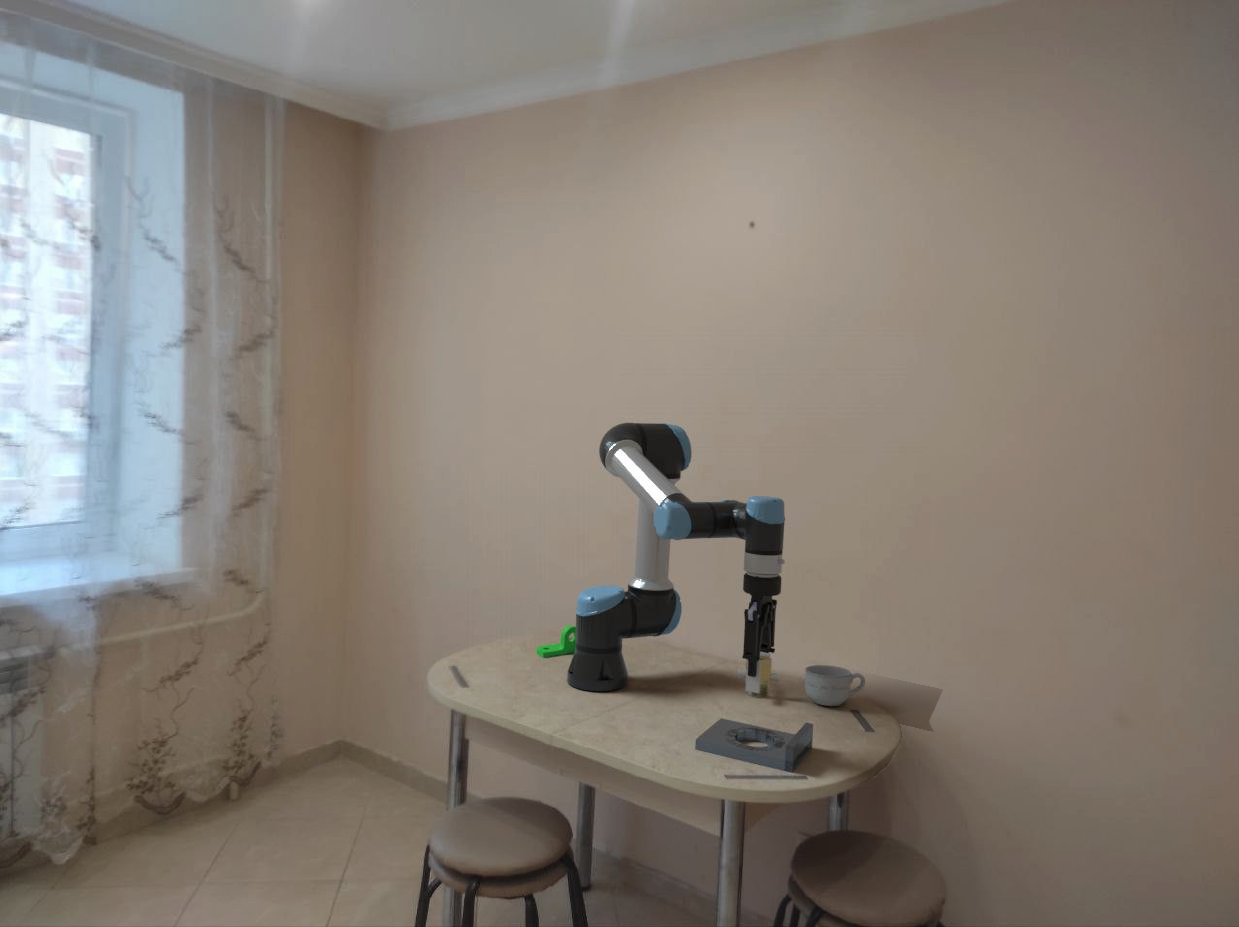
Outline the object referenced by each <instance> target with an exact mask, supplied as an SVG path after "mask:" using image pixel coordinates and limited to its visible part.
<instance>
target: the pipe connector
mask: <svg viewBox="0 0 1239 927" xmlns="http://www.w3.org/2000/svg"><path fill="white" fill-rule="evenodd" d="M736 678H739V679H746V670H742V669H737V670H736ZM779 680H780V674H779V673H773V672H771V682H779ZM752 697H754V698H756V699H757V698H758V699H759V698H760V697H756V696H752Z"/></svg>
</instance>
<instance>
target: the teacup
mask: <svg viewBox="0 0 1239 927" xmlns="http://www.w3.org/2000/svg"><path fill="white" fill-rule="evenodd" d="M804 671H805V678H804V685H805V686H804V688H805V693H806V695H807V697H808V698H809V699H810V700H811V701H812V702H813V703H815V704H817V705H821V706H826V707H827V706H828V707H836V706H840V705H842V704H843V703H845V702H846V701H847V700H848V699H849V698H851V697H852V696H853V695H854V694H855V693H858V692H860V691H861V690H862V689H863V688H864V687H865V685H866V679H865V677H864V675H863V674H861V673H859V672H854V673H852V672H851V671H850V670H849V669H847V668H844V667H841V666H835V665H827V664H826V665H824V664H819V665H818V664H814V665H808V666H806V667H805V668H804ZM855 678H859V679H860V683H859V685H858V686H857V687H855V688H852V689H851V684H852V683H853V681H854V679H855Z"/></svg>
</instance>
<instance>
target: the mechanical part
mask: <svg viewBox="0 0 1239 927" xmlns="http://www.w3.org/2000/svg"><path fill="white" fill-rule="evenodd" d="M571 634H573V637H572V638H571V640H570V636H571ZM575 644H576V625H571V624H570V625H567V626H565V627H564V628H563V630H562V631H561V632H560V643H559V642H558V643H553V644H546V645H540V646H537V647H536V655H537V654H538V655H537V656H539V657H541V658H543V659H544V658H545V657H546V658H551V657H550V656H552V657H557V656H556V655H559V656H563V655H562V654H565V655H567V654H566V653H571V654H574V653H573V652H575Z"/></svg>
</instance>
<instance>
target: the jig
mask: <svg viewBox="0 0 1239 927" xmlns="http://www.w3.org/2000/svg"><path fill="white" fill-rule="evenodd" d="M813 735H814V723H810V722H805V723H804V724H803V725H802V726H801V728H800V729H799V730H798V731H797V732H796V733H795V734H794V733H790V732H786V731H780V730H777V729H772V728H768V727H767V728H766V727H763V726H758V725H753V724H749V723H744V722H742V721H741V722H739V721H735V720H731V719H725V718H722V717H721V718H719V719H718V720H717V721H716V722H715V723H713V724H712V725H711V726H710V727H709V728H707V729H706V730H705V731H704V732H703V733H702V734H700V735H698V737H696V738H695V744H694V745H695V746H694V747H695V748H694V749H695V750H698V751H701V752H706V753H710V754H715V755H720V756H724V757H726V758H731V759H735V760H739V761H743V762H748V763H752V764H757V765H761V766H764V767H769V768H773V769H777V770H781V771H784V772H789V773H793V772H794V771H795V770H796V769H797V767H798V766H799V765H800V764H801V762H803V760H804V759H805V757H806V756H807V755H808V754H809V752H810V751H811V750H812V749H813V738H814V736H813ZM745 741H747V742H748V741H749V742H750V741H751V742H759V743H764V744H767V745H766V746H752V745H749V744H744V743H742V742H745Z"/></svg>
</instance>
